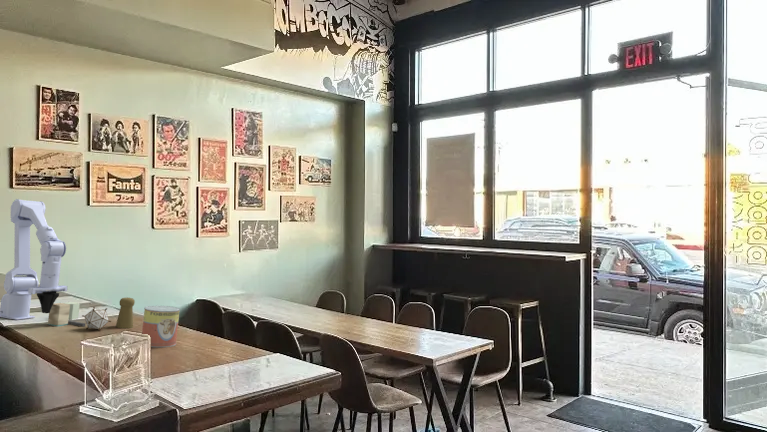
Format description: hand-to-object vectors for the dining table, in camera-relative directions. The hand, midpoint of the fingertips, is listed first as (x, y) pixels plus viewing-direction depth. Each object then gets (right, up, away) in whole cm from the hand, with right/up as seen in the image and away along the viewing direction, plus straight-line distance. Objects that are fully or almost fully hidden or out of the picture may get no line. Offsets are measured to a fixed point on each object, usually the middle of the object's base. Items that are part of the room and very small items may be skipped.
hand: (45, 312), depth 199 cm
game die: (+16, -7, +3) cm, 18 cm away
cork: (+22, -8, +13) cm, 27 cm away
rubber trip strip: (+2, -5, +9) cm, 11 cm away
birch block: (+1, -5, +5) cm, 8 cm away
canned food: (+44, -9, -9) cm, 45 cm away
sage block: (-2, -5, +19) cm, 20 cm away
